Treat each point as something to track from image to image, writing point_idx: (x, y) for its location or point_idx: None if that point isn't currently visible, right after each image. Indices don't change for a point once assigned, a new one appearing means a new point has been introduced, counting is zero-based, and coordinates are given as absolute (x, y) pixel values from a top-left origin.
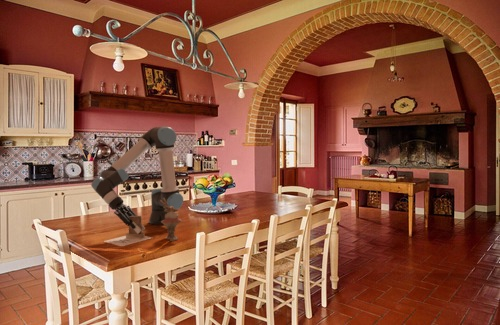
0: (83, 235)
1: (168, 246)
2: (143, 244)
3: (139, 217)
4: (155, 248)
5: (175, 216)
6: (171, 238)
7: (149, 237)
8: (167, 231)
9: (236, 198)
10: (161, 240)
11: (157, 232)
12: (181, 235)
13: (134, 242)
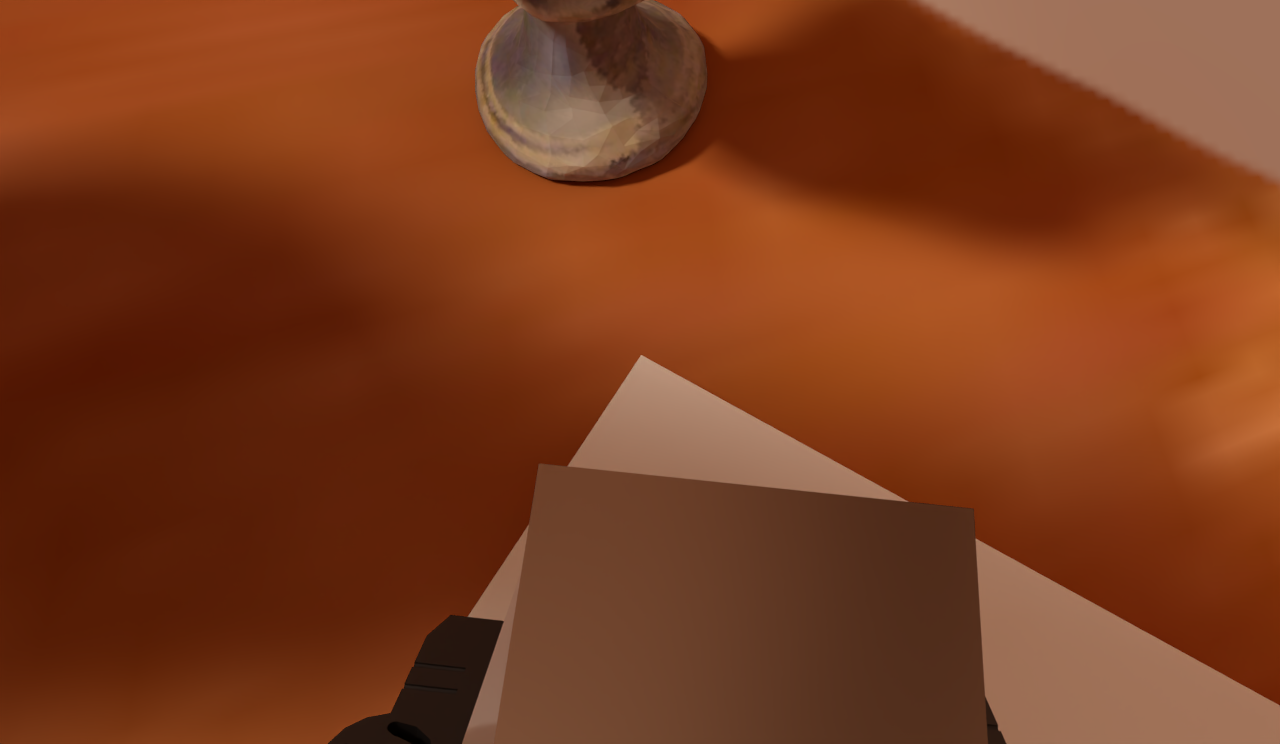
0: None
1: (979, 39)
2: (975, 445)
3: (789, 499)
4: (1137, 177)
5: None
6: (682, 30)
7: (621, 427)
8: (632, 2)
9: None
10: (658, 216)
11: (4, 466)
12: (320, 5)
13: (1070, 615)
